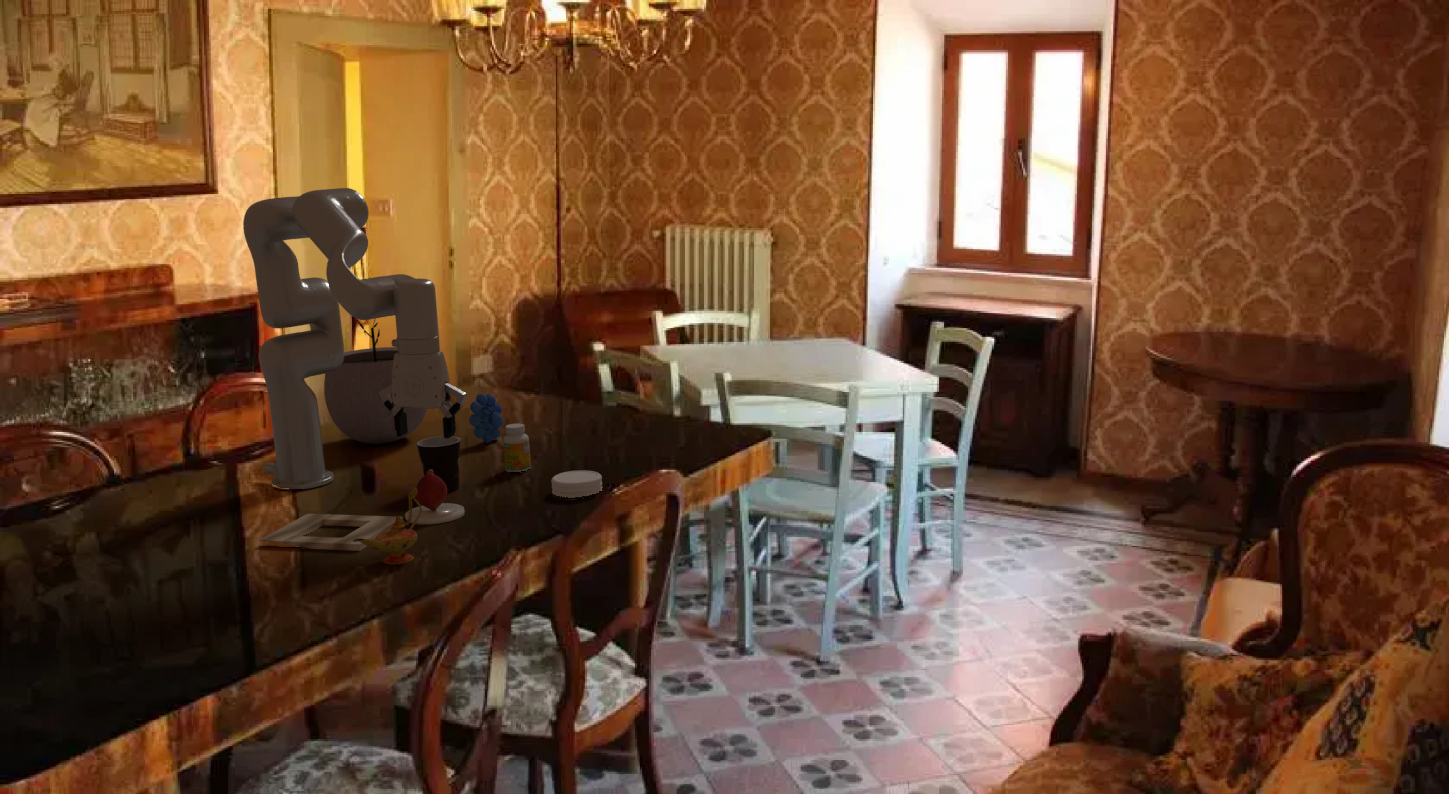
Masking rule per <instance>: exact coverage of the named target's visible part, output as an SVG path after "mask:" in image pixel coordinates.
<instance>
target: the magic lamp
mask: <svg viewBox="0 0 1449 794" xmlns="http://www.w3.org/2000/svg"><path fill="white" fill-rule="evenodd" d="M416 487H417V486H415V487H414V488H412V489H411V490H410V491H409V493H408V511H409V515H410V516H408V517H409V518H410V519H409V518H408V520H407V521H406V520H404V519H403V520H402V519H400V517H401V516H399V515H398V516H395V517H396V519H395V523H394V524H393V525H392V527H391V530H390V531H386V532H383V533H381V534H379V535H378V536H377V537H376V538H375V539H373V540H371V539H354V540H353V542H357V541H359V542H361V543H363V544H365V545H366V546H367V547H368V548H370V549H371V550H372V549H373V550H374V551H375V550H376V551H379V552H387V553H388V552H389V553H390V554H389V555H388V556H386V557H385V558H384V559H383V563H385V564H387V565H402V564H406V563H409V562H411V561H413V560H414V559H415V557H414V555H412V554H409V553H408V552H406V551H405V550H407V549H410V548H411V547H412V546H413V545H414V544H415V543H416V542H417V541H418V533H417V532H416V531H415V530H414V529H413V528H414V526H415V525H416V524H415V523H416V522H417V520H418V518H419V517H420V514H421V511H422V509H421V506H422V505H421V504H420V503H419V501H418V500H417V498H416V495H417V489H416ZM413 501H414V502H415V503H416V504H417V506H418V507H419V508H420V511H419V514H418V516H417V518H416V520H415V521H414V523H413V524H412V523H410V522H411V518H412V509H413ZM410 513H411V514H410ZM401 521H403V522H401ZM405 521H406V522H405ZM409 524H411V525H410V527H409V528H407V527H406V526H409Z"/></svg>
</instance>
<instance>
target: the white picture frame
mask: <svg viewBox="0 0 1449 794" xmlns="http://www.w3.org/2000/svg"><path fill="white" fill-rule="evenodd" d="M396 517H397V516H389V515H387V516H385V515H360V514H359V515H356V514H331V513H329V514H328V513H327V514H326V513H307V514H304V515H302V516H300V517H299V518H297V519H295V520H293V521H292V522H290V523H288V524H286V525H284V526H282V527H280V528H278V529H277V530H275V531H274V532H270V533H269V534H268V535H266V536H264V537H262V538H260V539H259V540H258V541H269V542H278V543H283V544H291V545H295V546H302V547H305V548H308V549H309V550H334V551H357V552H358V551H359V552H360V551H362V550H364V549H365V548H367V547H368V546H366V545H365V544H363V543H361V542H359V541H357V542H353V540H354V539H371V540H373V539H375V538H376V537H377V536H378V535H379V534H381V533H383V532H386V531H390V530H391V527H392V525H393V524H394V523H395V519H396ZM399 517H400V519H402V520H403V521H404V517H403V516H399ZM403 521H401V522H403ZM323 526H331V527H335V526H336V527H354V528H355V527H357V529H355V530H354V531H351V532H350V533H349V534H346V535H345V536H343V537H331V536H330V537H329V536H328V537H327V536H325V537H324V536H308V535H309V534H311V533H313V532H315V531H317V530H318V529H319V528H321V527H323ZM358 527H359V528H358ZM310 532H311V533H310ZM308 533H309V534H308ZM306 534H307V535H306ZM303 535H306V536H303ZM305 548H304V549H305Z"/></svg>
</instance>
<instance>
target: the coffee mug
mask: <svg viewBox="0 0 1449 794" xmlns="http://www.w3.org/2000/svg"><path fill="white" fill-rule="evenodd" d="M416 446H417V451H418V456H419V459H420V464H421V468H422V474H423V476H424V475H426V473H427V472H428V471H429V470H433V471H434V472H433V473H434V475H436V476H438V477H439V478H441V479H442V480H443V481H444V483H445V484H446V487H447V494H448V493H453V492H455V491H458V490H459V489H458V488H460V469H461V468H460V464H461V463H460V462H461V459H460V458H461V438H460V437H457V436H452V437H450V438H448V439H445V438H444V435H443V436H433V437H427V438H423V439H421V440H419V441H417V443H416Z"/></svg>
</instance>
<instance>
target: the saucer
mask: <svg viewBox="0 0 1449 794" xmlns="http://www.w3.org/2000/svg"><path fill="white" fill-rule="evenodd" d="M421 509H422V511H421V514H420V517H419V518H418V520H417V522H416V523H415V525H420V526H421V525H425V526H426V525H427V526H428V525H437V524H446V523H449V522H452V521H456V520H458V519H460V518H462V517H463V516H464V515H465V507H464V506H463V505H460V504H458V503H452V502H451V503H450V502H449V503H448V502H446V503H445V502H443V503H442V504H441V505H440V506H439V507H438V508H437V509H436V510H434V511H432V510H430V509H428V508H426V507H424V506H423V505H421ZM419 511H420V508H419V506H416V507H412V518H411V522H410V523H409V524H411V525H412V524H413V523H414V521H415V520H416V518H417V516H418V514H419ZM410 514H411V513H410ZM404 515H405V516H404V517H405V518H404V519H405V521H406V522H407V520H408V518H409V517H408V516H410V515H409V510H407V511H406V512H405V514H404ZM409 519H410V518H409Z"/></svg>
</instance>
